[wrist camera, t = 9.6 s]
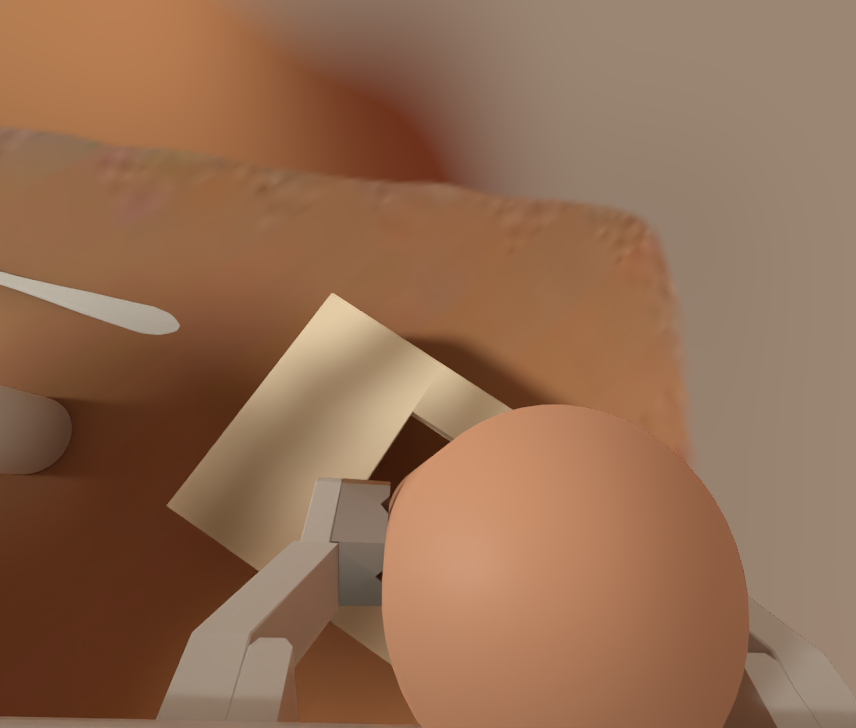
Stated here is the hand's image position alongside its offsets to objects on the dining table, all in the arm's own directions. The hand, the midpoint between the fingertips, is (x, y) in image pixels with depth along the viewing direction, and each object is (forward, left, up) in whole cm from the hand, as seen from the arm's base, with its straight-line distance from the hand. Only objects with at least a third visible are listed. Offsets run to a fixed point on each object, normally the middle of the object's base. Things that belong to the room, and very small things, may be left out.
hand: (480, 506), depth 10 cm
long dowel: (0, -1, -7) cm, 7 cm away
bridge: (-2, -1, -16) cm, 16 cm away
